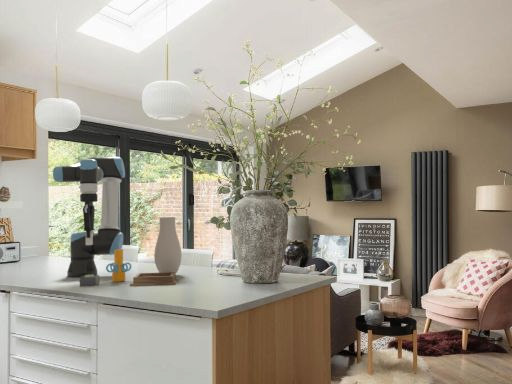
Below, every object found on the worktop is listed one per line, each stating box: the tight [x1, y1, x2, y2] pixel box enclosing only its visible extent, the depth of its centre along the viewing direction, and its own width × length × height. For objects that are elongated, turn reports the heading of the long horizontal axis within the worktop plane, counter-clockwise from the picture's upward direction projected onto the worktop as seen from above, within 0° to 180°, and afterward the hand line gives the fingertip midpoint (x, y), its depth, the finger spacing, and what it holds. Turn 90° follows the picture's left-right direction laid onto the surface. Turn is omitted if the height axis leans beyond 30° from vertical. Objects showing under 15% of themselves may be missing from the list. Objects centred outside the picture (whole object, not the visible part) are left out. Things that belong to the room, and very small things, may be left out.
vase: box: [153, 216, 182, 275], centre depth 263 cm, size 14×14×30 cm
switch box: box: [79, 274, 100, 288], centre depth 232 cm, size 7×7×4 cm
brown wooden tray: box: [129, 272, 179, 287], centre depth 237 cm, size 19×20×4 cm
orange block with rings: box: [105, 248, 132, 283], centre depth 245 cm, size 12×10×15 cm
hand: (89, 244), depth 233 cm, fingers closed
